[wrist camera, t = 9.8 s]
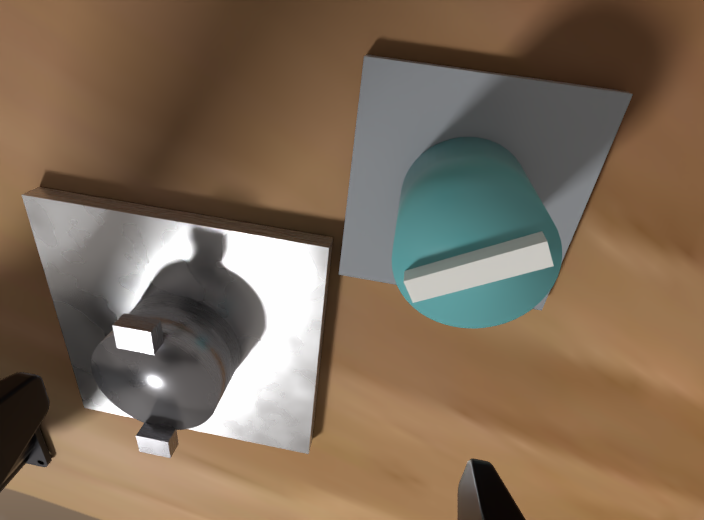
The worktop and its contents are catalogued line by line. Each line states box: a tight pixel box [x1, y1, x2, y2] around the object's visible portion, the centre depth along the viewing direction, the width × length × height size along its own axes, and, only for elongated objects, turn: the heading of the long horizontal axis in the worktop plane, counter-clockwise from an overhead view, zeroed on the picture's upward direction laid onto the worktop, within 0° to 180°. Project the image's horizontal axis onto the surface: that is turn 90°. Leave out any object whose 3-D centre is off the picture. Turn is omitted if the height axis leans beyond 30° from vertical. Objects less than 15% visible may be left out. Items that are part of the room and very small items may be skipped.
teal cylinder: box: [392, 137, 562, 328], centre depth 15 cm, size 5×5×6 cm
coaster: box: [339, 54, 633, 310], centre depth 17 cm, size 9×9×1 cm
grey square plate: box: [22, 187, 333, 458], centre depth 21 cm, size 14×14×5 cm
